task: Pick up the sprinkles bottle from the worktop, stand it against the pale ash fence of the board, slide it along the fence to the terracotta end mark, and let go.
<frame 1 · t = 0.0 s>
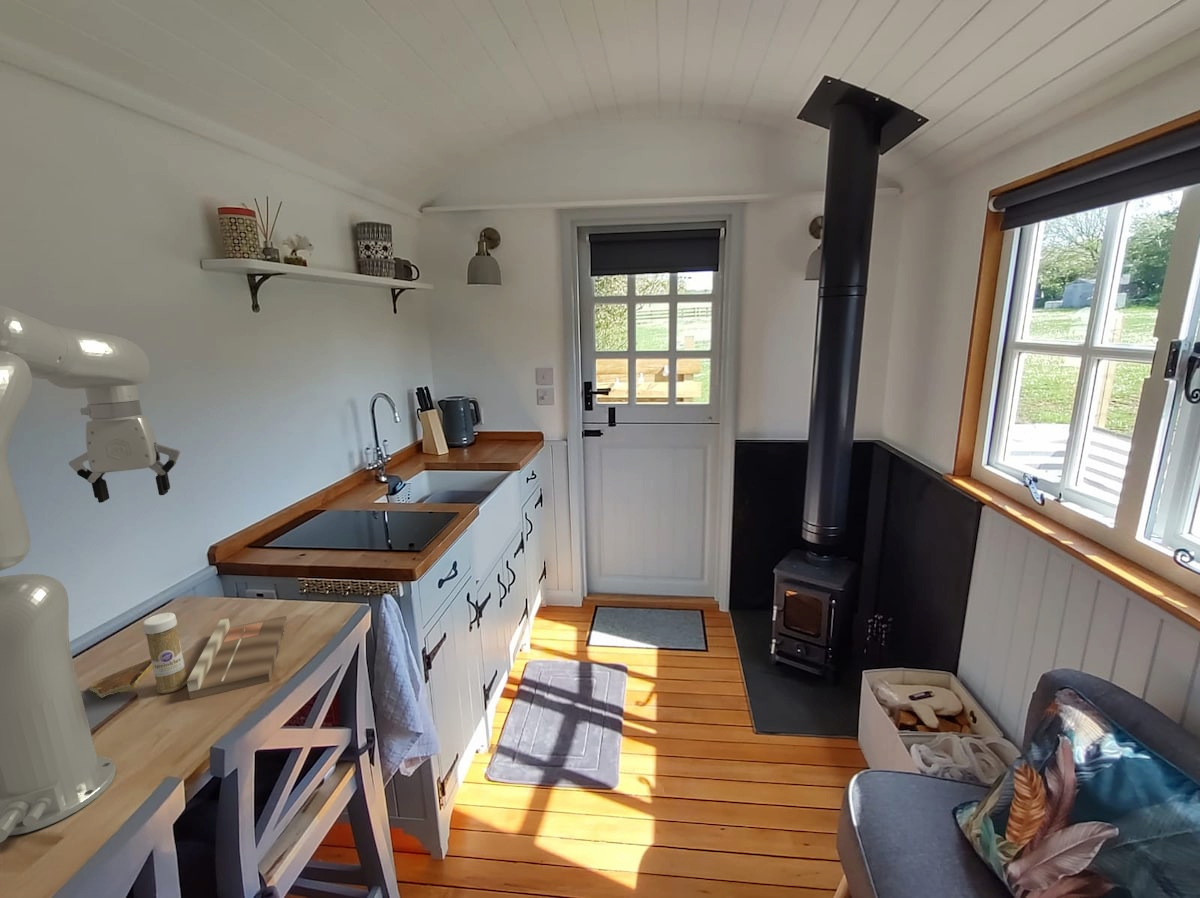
hand: (134, 497, 111), 31 cm above the table, tool pointing down, fingers open, 9 cm apart
sprinkles bottle: (173, 687, 100), on the table
shard: (121, 684, 103), on the table
guide board: (244, 656, 110), on the table
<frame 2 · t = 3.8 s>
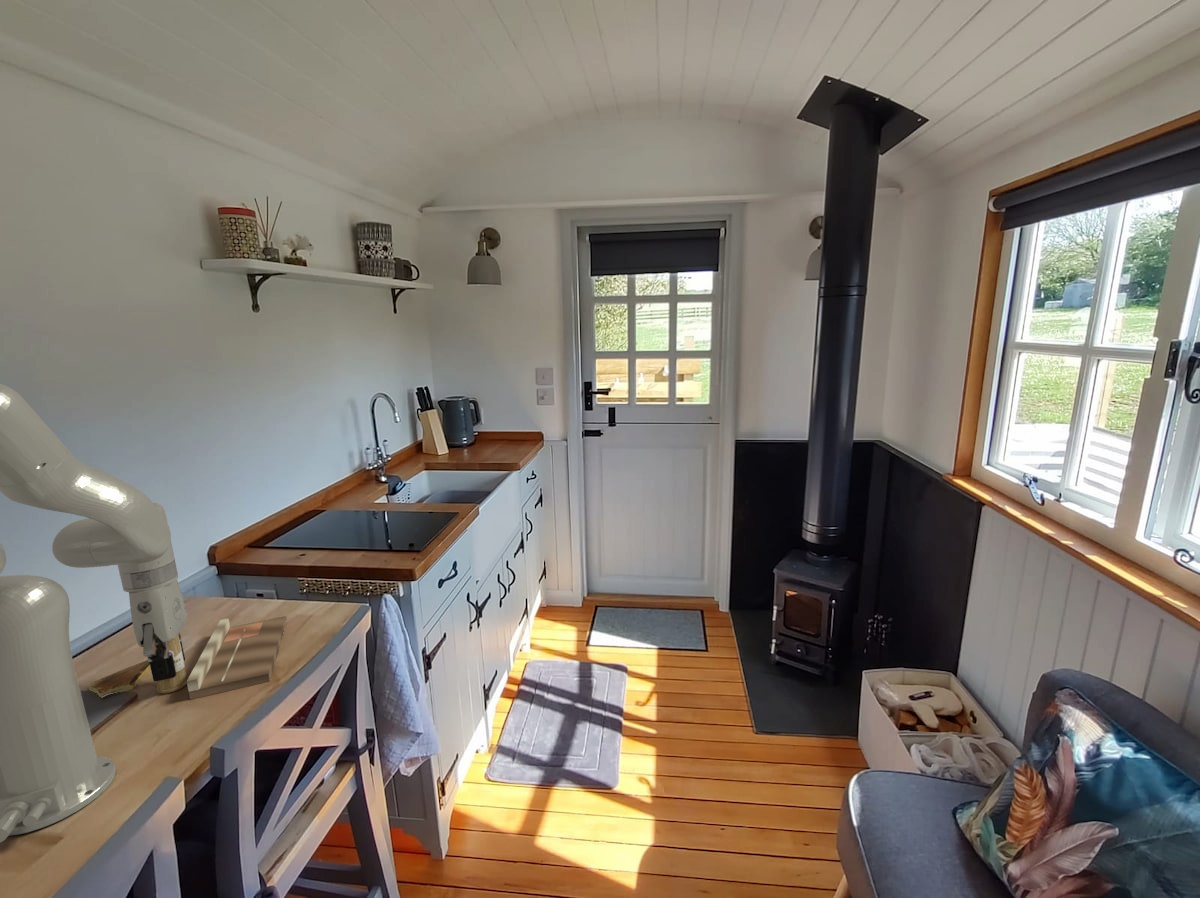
hand: (169, 670, 100), 3 cm above the table, tool pointing down, fingers closed on sprinkles bottle, 4 cm apart
sprinkles bottle: (173, 687, 100), on the table, touching gripper
everything else where it was.
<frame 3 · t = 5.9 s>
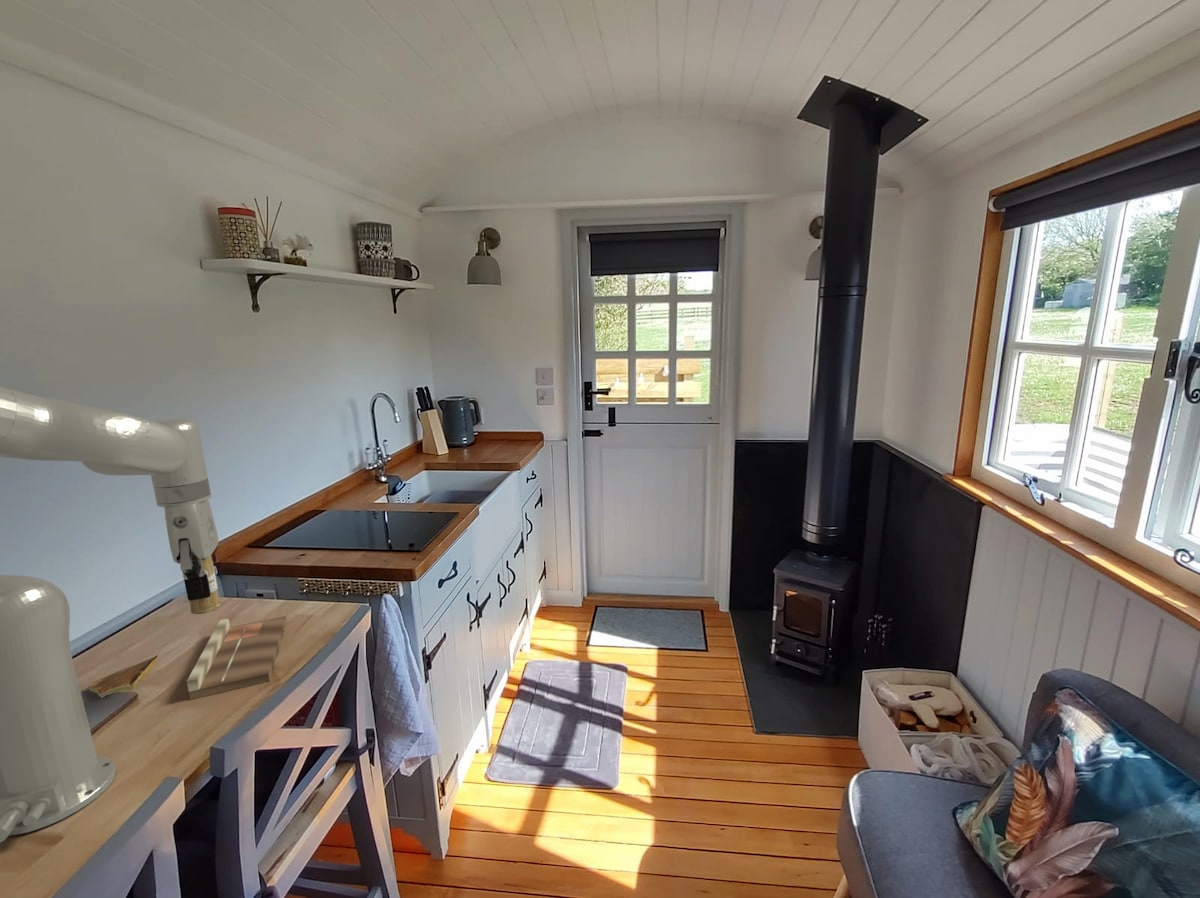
hand: (203, 591, 98), 17 cm above the table, tool pointing down, fingers closed on sprinkles bottle, 4 cm apart
sprinkles bottle: (206, 610, 99), point 14 cm above the table, touching gripper
everything else where it was.
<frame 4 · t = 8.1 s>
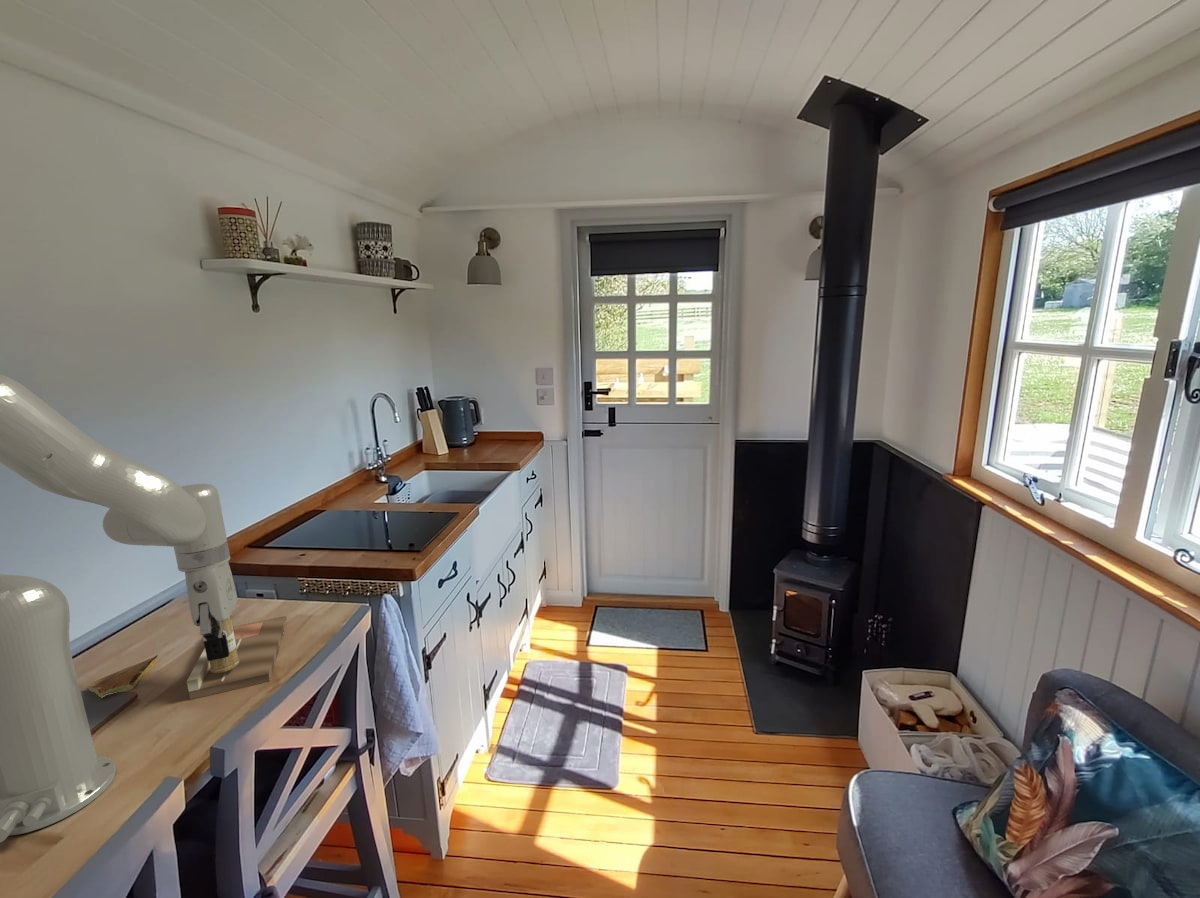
hand: (222, 650, 101), 6 cm above the table, tool pointing down, fingers closed on sprinkles bottle, 4 cm apart
sprinkles bottle: (225, 667, 101), point 2 cm above the table, touching gripper
everything else where it was.
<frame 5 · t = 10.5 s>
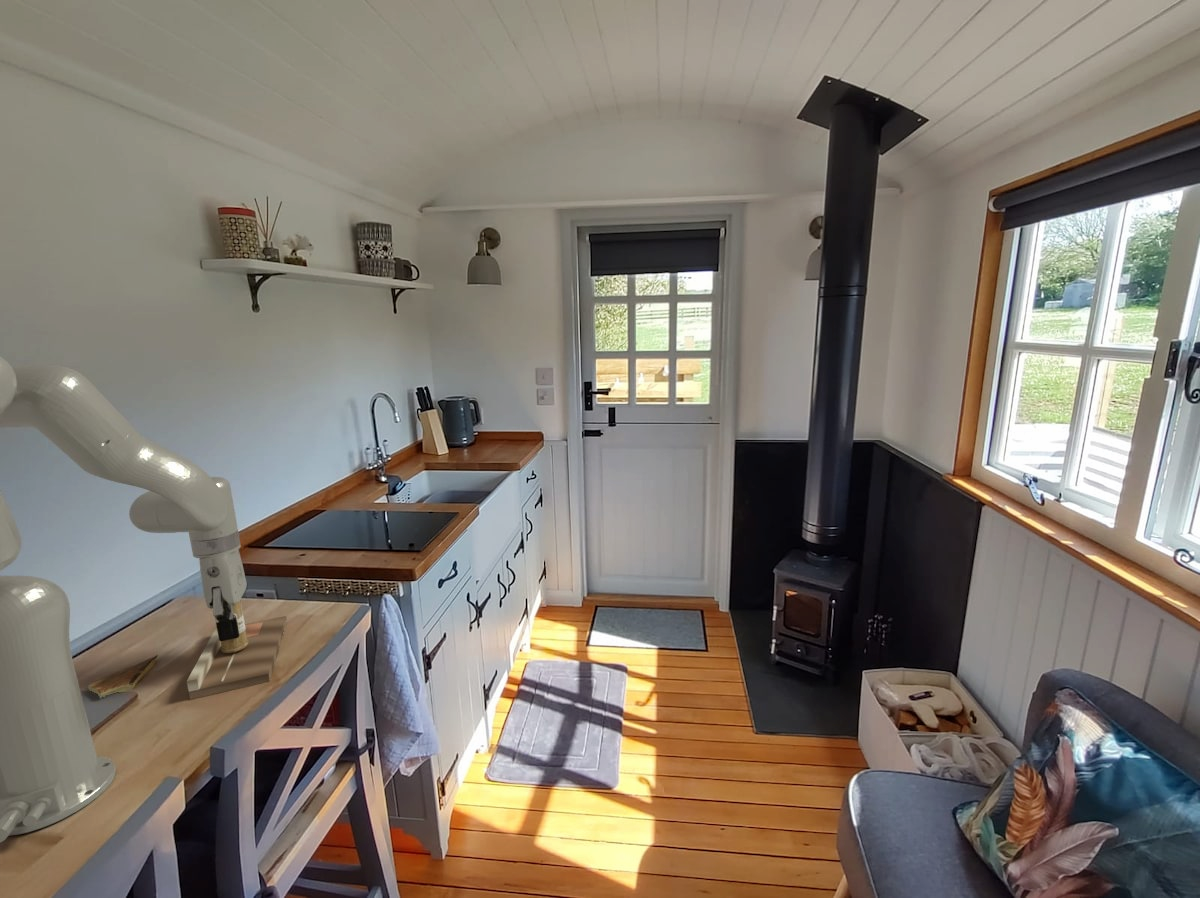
hand: (232, 631, 108), 5 cm above the table, tool pointing down, fingers closed on sprinkles bottle, 4 cm apart
sprinkles bottle: (235, 648, 109), point 2 cm above the table, touching gripper
everything else where it was.
when the fingers open (5 cm above the table, at t = 12.6 s): sprinkles bottle stays where it is, resting on guide board.
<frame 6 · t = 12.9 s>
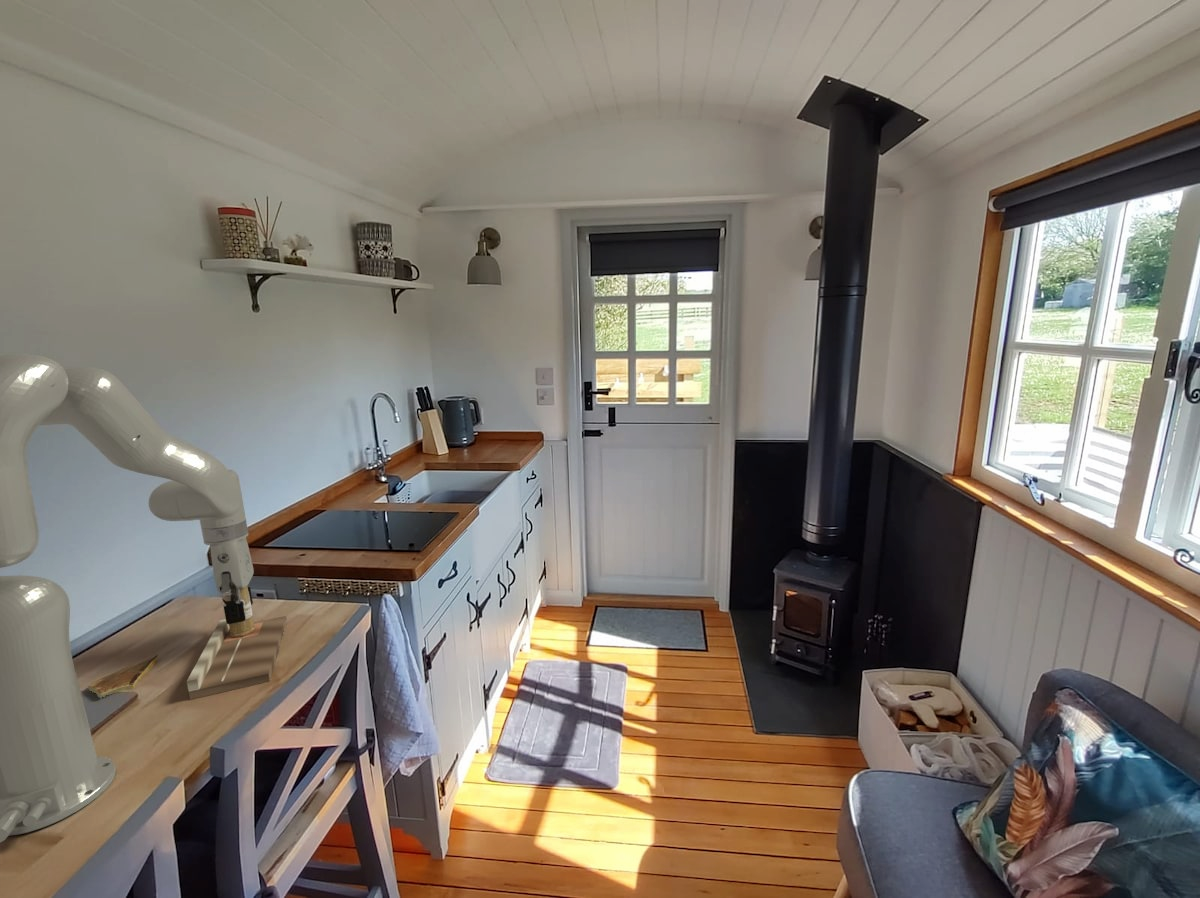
hand: (240, 613, 115), 6 cm above the table, tool pointing down, fingers open, 7 cm apart
sprinkles bottle: (243, 633, 116), point 1 cm above the table, touching guide board
everything else where it was.
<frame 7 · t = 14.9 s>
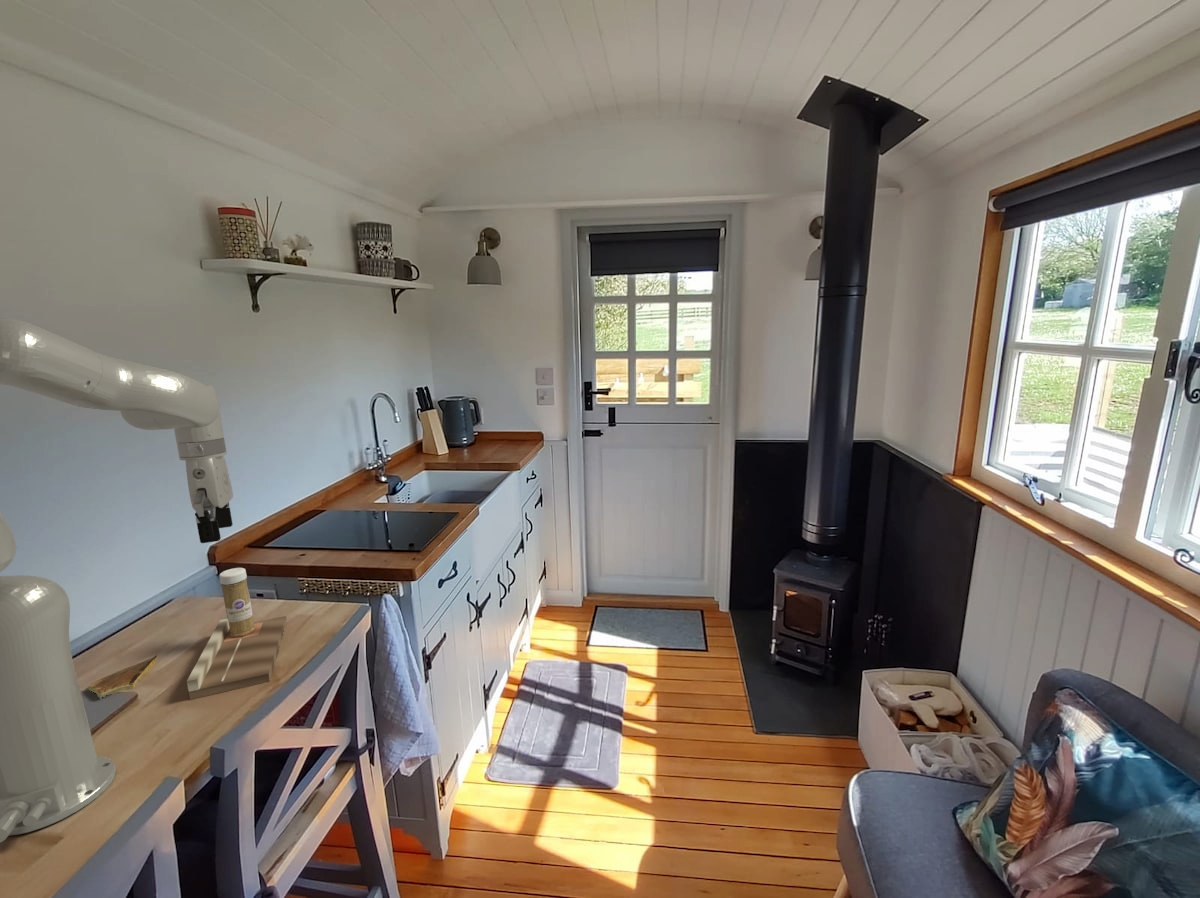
hand: (217, 534, 111), 23 cm above the table, tool pointing down, fingers open, 9 cm apart
nothing on the table moved.
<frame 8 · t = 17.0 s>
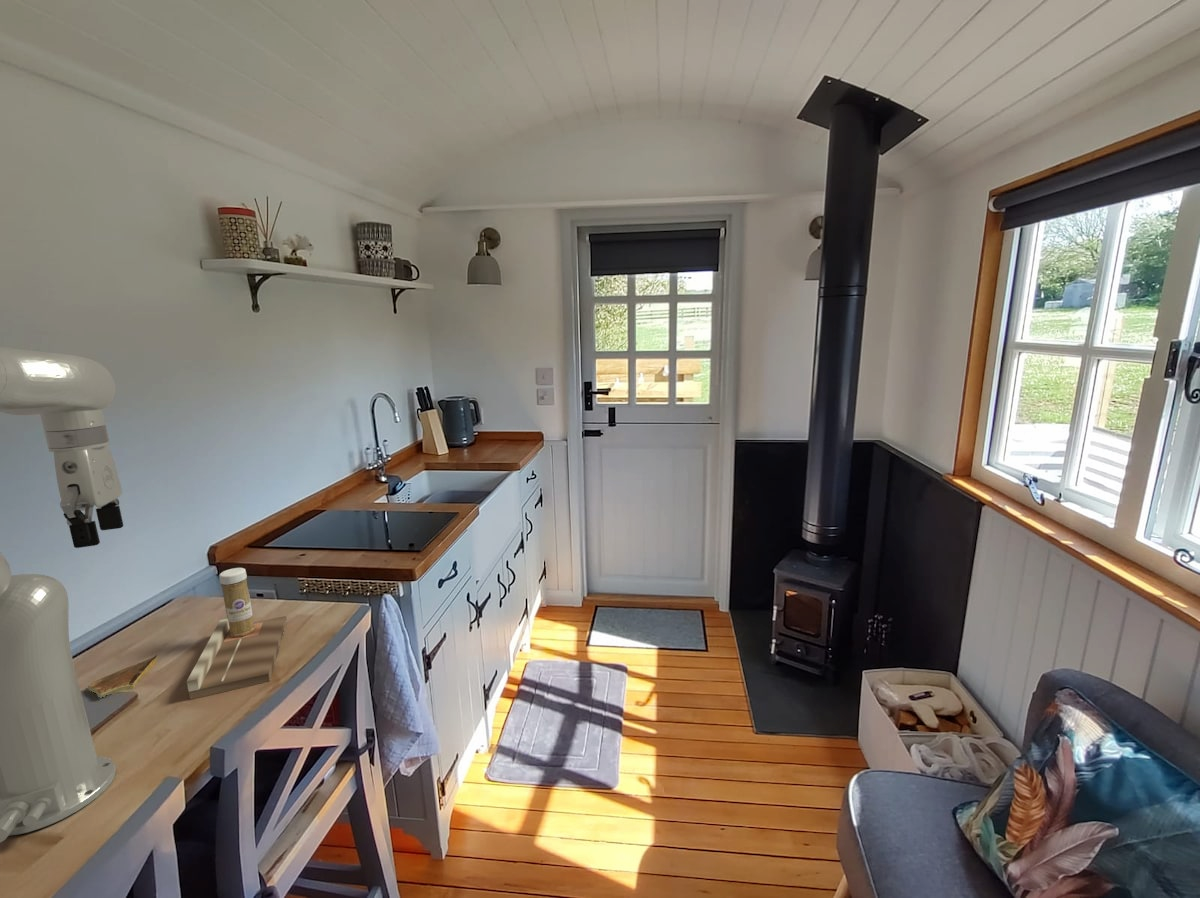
hand: (100, 537, 96), 28 cm above the table, tool pointing down, fingers open, 9 cm apart
nothing on the table moved.
at the end: sprinkles bottle 0.4 cm from the target spot, point 1.4 cm above the table; sprinkles bottle tilted 0°; the gripper is holding nothing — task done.
